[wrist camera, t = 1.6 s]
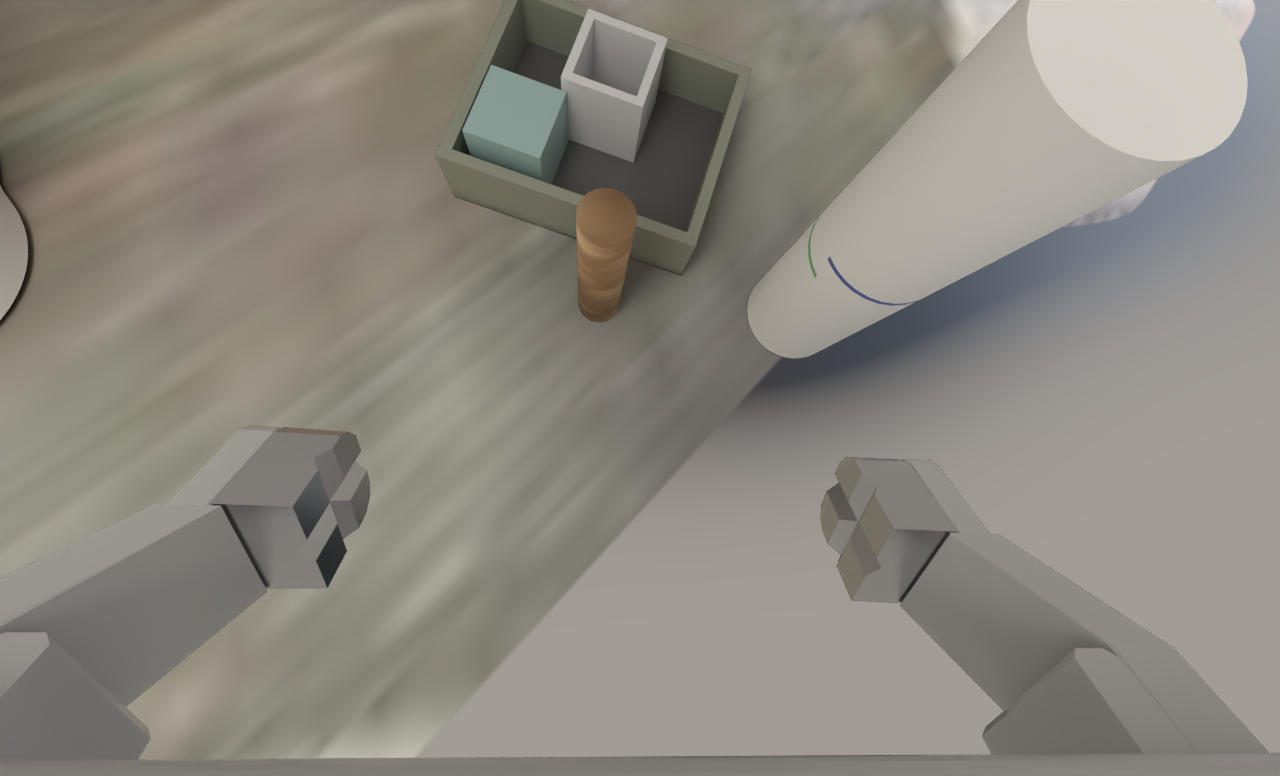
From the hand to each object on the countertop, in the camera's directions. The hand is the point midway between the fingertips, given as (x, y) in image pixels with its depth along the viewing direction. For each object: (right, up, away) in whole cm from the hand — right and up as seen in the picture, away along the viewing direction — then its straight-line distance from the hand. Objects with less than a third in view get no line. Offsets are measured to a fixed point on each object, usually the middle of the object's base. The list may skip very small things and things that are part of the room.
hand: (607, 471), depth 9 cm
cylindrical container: (+12, +7, +31) cm, 34 cm away
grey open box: (-3, +20, +31) cm, 37 cm away
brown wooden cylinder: (-2, +8, +29) cm, 30 cm away
